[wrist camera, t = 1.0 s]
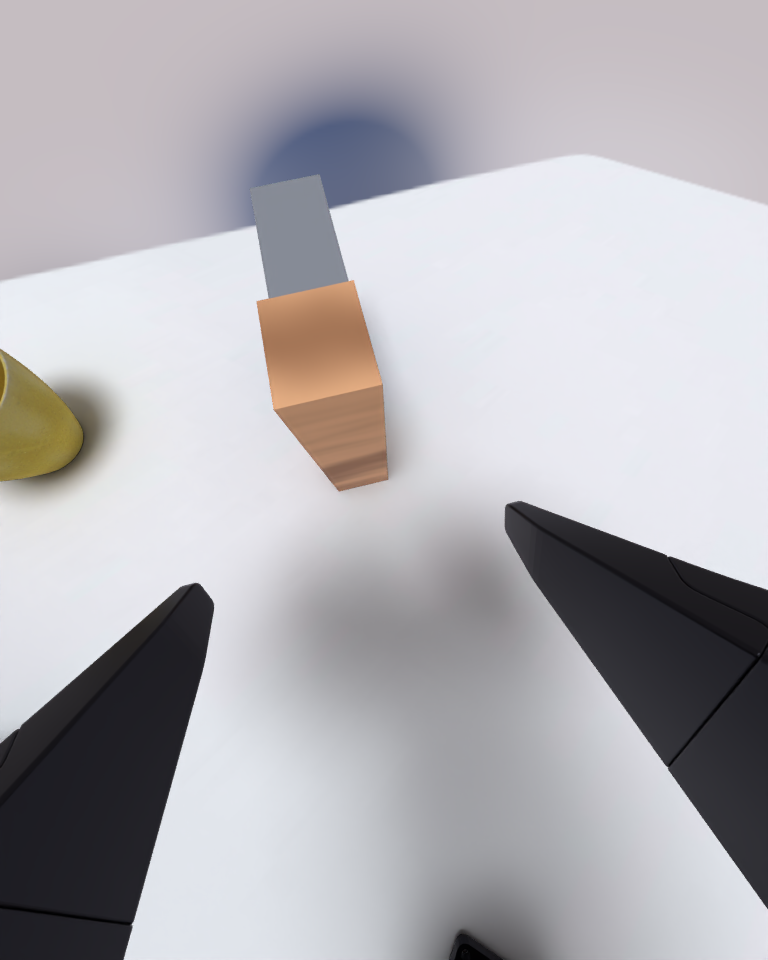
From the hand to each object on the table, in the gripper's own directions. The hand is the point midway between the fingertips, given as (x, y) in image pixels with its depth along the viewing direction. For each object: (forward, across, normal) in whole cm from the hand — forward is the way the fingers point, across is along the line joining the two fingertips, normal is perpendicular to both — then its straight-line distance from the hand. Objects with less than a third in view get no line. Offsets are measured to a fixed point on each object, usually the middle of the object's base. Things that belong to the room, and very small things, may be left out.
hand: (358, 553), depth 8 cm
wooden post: (+15, 0, +4) cm, 16 cm away
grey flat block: (+21, 0, -2) cm, 21 cm away
